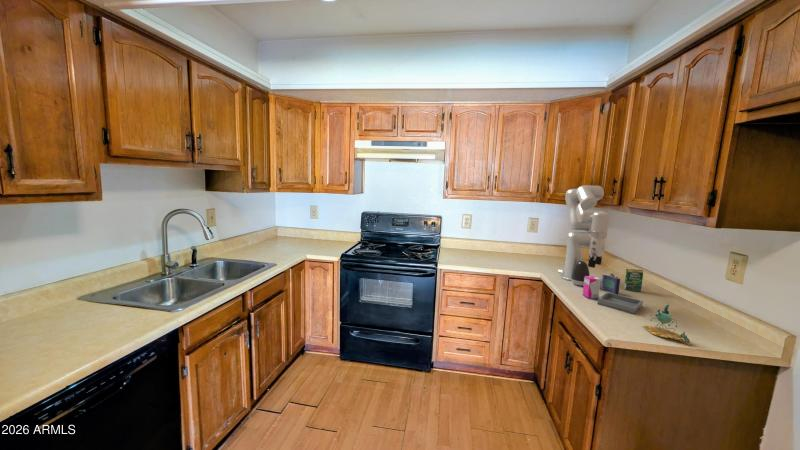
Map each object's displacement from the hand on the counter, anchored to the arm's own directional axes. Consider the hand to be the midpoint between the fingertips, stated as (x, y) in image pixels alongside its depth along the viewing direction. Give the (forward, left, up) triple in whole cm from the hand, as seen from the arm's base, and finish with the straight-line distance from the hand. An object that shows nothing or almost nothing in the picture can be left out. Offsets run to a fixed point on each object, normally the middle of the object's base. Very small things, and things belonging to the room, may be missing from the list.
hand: (594, 265), depth 170 cm
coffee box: (+12, +34, -18) cm, 40 cm away
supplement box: (0, 0, -18) cm, 19 cm away
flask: (+4, +20, -18) cm, 28 cm away
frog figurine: (+35, -24, -19) cm, 47 cm away
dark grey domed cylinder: (-12, +19, -18) cm, 29 cm away
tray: (+14, 0, -18) cm, 23 cm away
